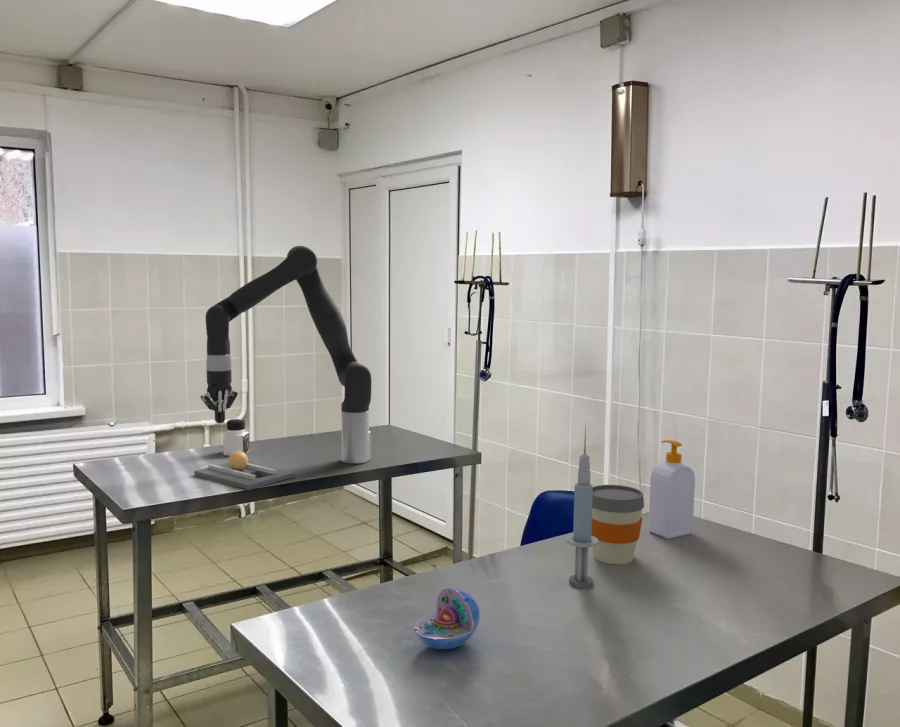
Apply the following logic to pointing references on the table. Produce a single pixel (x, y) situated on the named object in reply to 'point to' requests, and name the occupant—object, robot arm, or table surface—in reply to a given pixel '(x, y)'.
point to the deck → (244, 475)
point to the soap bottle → (671, 496)
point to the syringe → (582, 523)
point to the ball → (238, 460)
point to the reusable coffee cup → (616, 522)
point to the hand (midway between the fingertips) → (220, 422)
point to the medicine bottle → (235, 437)
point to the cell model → (450, 620)
